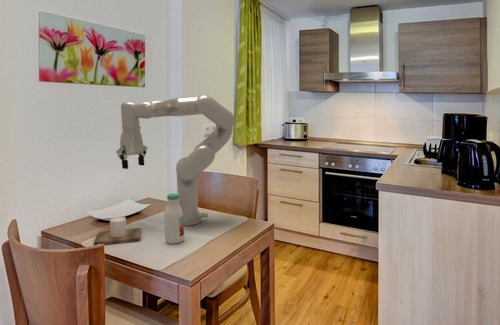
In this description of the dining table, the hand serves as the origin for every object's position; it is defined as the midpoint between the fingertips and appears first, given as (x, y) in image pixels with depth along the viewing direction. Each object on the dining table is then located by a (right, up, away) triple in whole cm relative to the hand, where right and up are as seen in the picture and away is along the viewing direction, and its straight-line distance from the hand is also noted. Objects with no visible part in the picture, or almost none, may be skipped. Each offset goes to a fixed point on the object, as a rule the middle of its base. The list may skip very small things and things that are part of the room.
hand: (133, 166), depth 162 cm
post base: (-3, -31, -11) cm, 33 cm away
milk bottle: (+22, -31, -15) cm, 41 cm away
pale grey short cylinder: (-2, -29, -12) cm, 31 cm away
